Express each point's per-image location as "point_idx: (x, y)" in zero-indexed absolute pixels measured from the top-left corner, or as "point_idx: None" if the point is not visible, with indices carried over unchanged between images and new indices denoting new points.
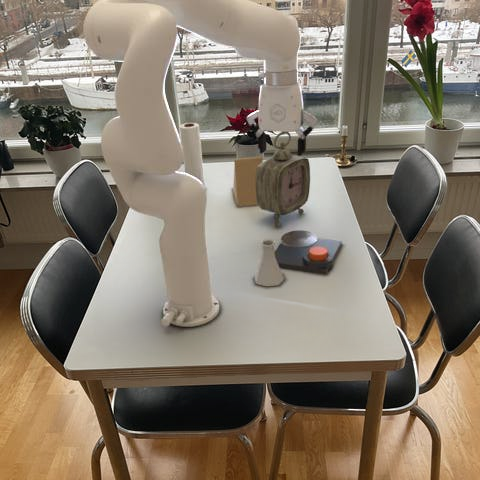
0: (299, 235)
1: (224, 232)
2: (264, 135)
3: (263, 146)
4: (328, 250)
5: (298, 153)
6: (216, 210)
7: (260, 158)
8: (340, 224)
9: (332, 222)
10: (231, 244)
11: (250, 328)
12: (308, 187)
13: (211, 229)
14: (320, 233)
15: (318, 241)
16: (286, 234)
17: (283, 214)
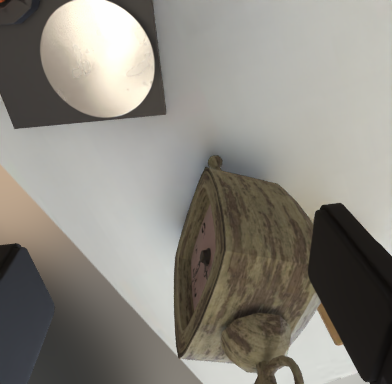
0: (108, 82)
1: (340, 82)
2: (377, 363)
3: (334, 257)
4: (10, 59)
5: (5, 253)
6: (388, 186)
7: (339, 338)
8: (84, 219)
9: (106, 222)
10: (301, 17)
11: None
12: (175, 284)
13: (380, 86)
14: (103, 165)
15: (67, 103)
16: (146, 74)
17: (201, 175)
